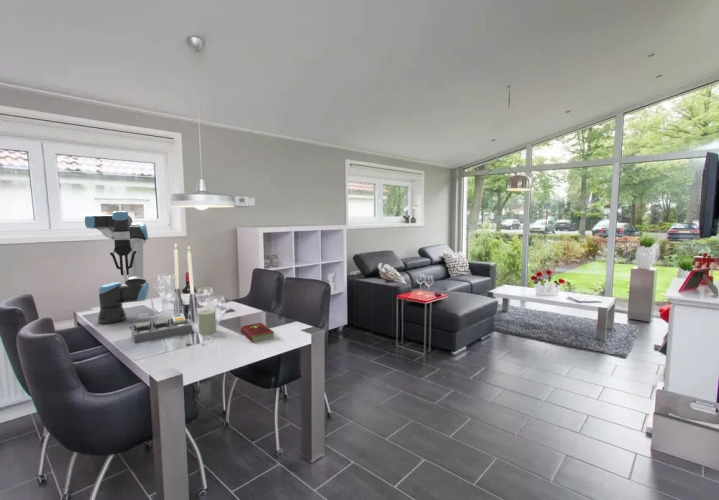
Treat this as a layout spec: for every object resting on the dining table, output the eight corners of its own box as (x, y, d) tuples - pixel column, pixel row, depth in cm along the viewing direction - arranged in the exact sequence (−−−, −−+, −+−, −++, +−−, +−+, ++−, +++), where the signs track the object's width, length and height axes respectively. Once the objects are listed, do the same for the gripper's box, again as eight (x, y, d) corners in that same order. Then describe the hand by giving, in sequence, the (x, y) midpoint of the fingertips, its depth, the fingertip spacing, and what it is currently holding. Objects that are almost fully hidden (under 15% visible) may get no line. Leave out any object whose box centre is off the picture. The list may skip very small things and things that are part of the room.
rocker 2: (171, 317, 215) (171, 315, 215) (182, 315, 219) (182, 313, 218) (174, 323, 209) (174, 321, 209) (185, 321, 213) (185, 319, 212)
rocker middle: (154, 323, 210) (153, 320, 210) (165, 321, 213) (165, 319, 214) (156, 323, 203) (155, 320, 204) (168, 321, 207) (167, 318, 207)
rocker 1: (135, 326, 205) (135, 323, 205) (148, 324, 208) (147, 321, 208) (137, 326, 198) (136, 323, 198) (149, 324, 202) (149, 321, 202)
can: (212, 328, 216) (211, 308, 214) (219, 331, 209) (218, 311, 208) (196, 332, 209) (195, 311, 208) (202, 335, 203) (201, 314, 201)
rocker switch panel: (131, 334, 205) (130, 322, 205) (186, 325, 222) (185, 314, 221) (134, 342, 193) (133, 330, 192) (192, 332, 209) (191, 320, 208)
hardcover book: (252, 343, 191) (251, 335, 190) (240, 333, 208) (240, 325, 208) (274, 339, 197) (274, 331, 197) (261, 329, 215) (261, 322, 214)
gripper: (108, 240, 200) (112, 283, 202) (136, 239, 208) (139, 280, 210) (107, 239, 206) (111, 281, 208) (134, 238, 213) (137, 278, 216)
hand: (125, 280), depth 209 cm, fingers closed
